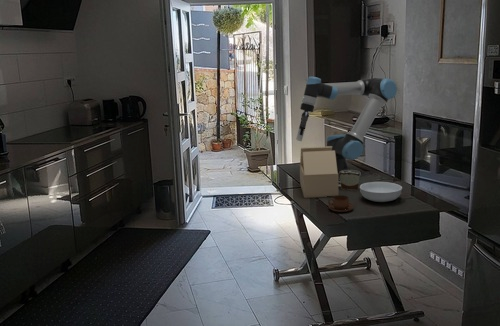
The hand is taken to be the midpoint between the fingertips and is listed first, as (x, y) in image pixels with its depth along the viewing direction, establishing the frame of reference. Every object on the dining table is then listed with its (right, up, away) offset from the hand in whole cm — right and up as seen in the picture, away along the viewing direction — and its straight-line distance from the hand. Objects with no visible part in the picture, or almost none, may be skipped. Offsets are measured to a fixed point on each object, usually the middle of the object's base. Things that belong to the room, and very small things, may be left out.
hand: (298, 140), depth 274 cm
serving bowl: (+38, -32, -31) cm, 59 cm away
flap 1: (+9, -9, -3) cm, 13 cm away
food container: (+28, -27, -9) cm, 40 cm away
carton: (+10, -28, -8) cm, 31 cm away
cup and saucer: (+16, -36, -43) cm, 58 cm away
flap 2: (+9, -13, -22) cm, 27 cm away
